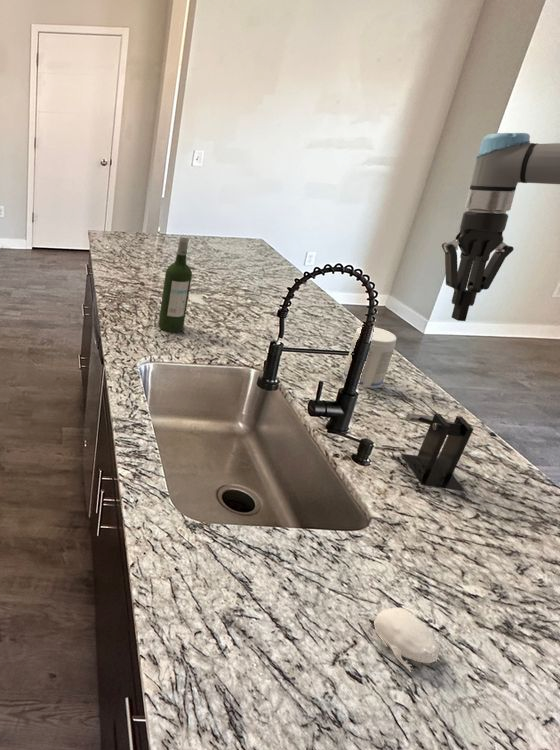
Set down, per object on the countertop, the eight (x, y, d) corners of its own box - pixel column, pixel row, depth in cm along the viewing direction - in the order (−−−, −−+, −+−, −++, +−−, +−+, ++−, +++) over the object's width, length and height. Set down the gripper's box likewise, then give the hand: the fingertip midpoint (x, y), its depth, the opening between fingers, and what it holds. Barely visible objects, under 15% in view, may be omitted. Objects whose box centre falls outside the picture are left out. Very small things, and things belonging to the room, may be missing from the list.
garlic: (447, 663, 75) (457, 646, 74) (409, 676, 73) (419, 659, 72) (398, 613, 82) (406, 596, 80) (363, 624, 80) (371, 607, 79)
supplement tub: (373, 375, 149) (390, 328, 143) (386, 393, 141) (404, 343, 135) (336, 371, 151) (351, 324, 144) (347, 388, 142) (363, 339, 136)
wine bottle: (174, 320, 178) (188, 232, 165) (187, 331, 171) (203, 239, 158) (153, 323, 176) (166, 233, 163) (165, 333, 169) (179, 241, 156)
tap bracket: (399, 457, 117) (420, 404, 111) (439, 463, 116) (463, 409, 110) (419, 489, 108) (444, 433, 102) (462, 495, 107) (490, 439, 101)
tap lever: (405, 421, 119) (406, 411, 119) (430, 425, 118) (431, 414, 118) (440, 434, 106) (441, 422, 105) (468, 437, 105) (469, 425, 105)
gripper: (509, 210, 115) (480, 316, 122) (442, 209, 117) (418, 312, 124) (533, 214, 108) (501, 326, 115) (461, 212, 110) (434, 322, 117)
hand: (458, 319), depth 120 cm, fingers closed
